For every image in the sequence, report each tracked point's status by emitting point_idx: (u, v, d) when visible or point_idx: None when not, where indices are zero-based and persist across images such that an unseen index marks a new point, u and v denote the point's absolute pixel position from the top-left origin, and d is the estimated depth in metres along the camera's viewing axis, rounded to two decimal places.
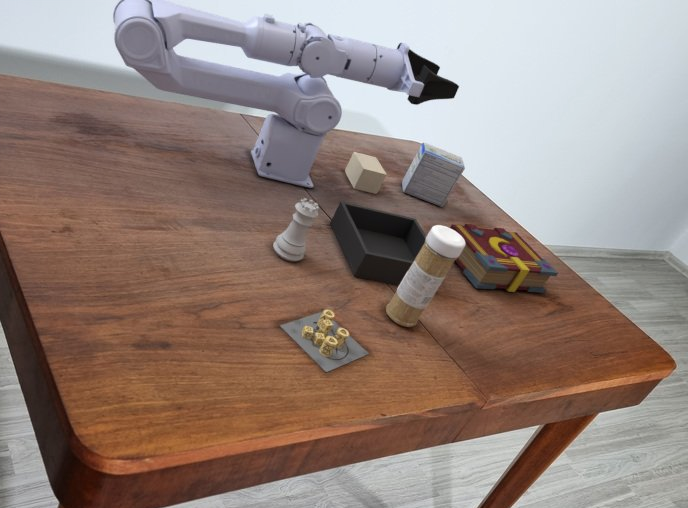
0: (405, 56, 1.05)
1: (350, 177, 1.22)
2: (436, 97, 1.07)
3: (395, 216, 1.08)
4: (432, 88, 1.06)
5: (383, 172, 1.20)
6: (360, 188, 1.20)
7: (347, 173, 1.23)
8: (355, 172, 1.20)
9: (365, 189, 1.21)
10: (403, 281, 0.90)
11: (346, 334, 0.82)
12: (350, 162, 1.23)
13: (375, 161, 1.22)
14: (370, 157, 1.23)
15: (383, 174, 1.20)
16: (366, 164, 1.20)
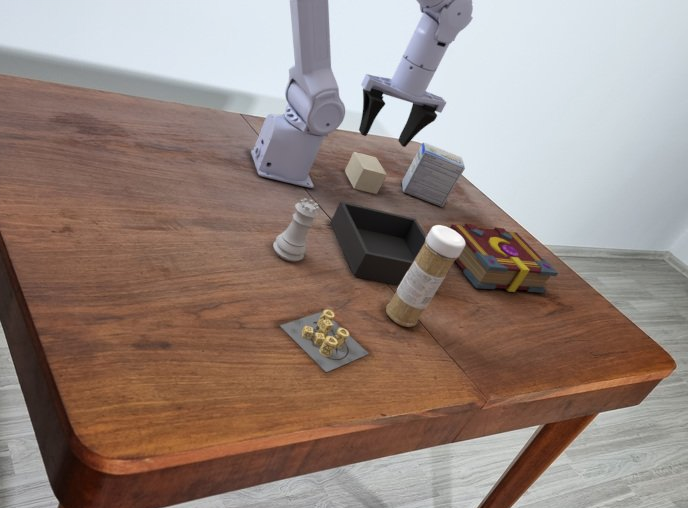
0: None
1: (350, 177, 1.22)
2: None
3: (395, 216, 1.08)
4: None
5: (383, 172, 1.20)
6: (360, 188, 1.20)
7: (347, 173, 1.23)
8: (355, 172, 1.20)
9: (365, 189, 1.21)
10: (403, 281, 0.90)
11: (346, 334, 0.82)
12: (350, 162, 1.23)
13: (375, 161, 1.22)
14: (370, 157, 1.23)
15: (383, 174, 1.20)
16: (366, 164, 1.20)
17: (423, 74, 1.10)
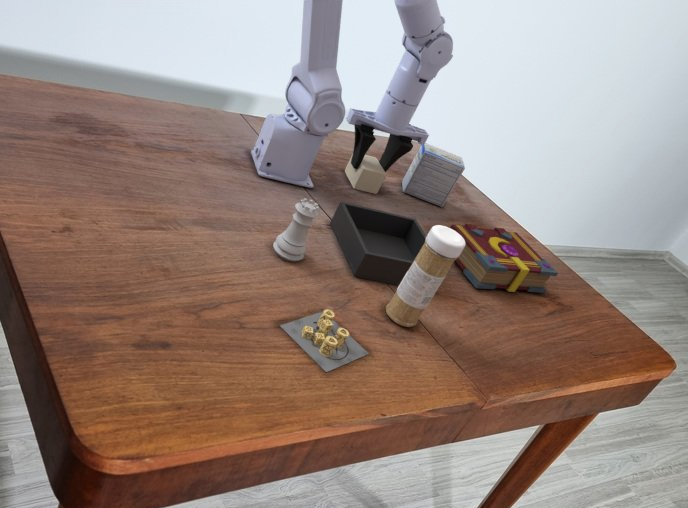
0: None
1: (350, 177, 1.22)
2: None
3: (395, 216, 1.08)
4: None
5: (383, 172, 1.20)
6: (360, 188, 1.20)
7: (347, 173, 1.23)
8: (355, 172, 1.20)
9: (365, 189, 1.21)
10: (403, 281, 0.90)
11: (346, 334, 0.82)
12: (350, 162, 1.23)
13: (375, 161, 1.22)
14: (370, 157, 1.23)
15: (383, 174, 1.20)
16: (366, 164, 1.20)
17: (405, 109, 1.13)
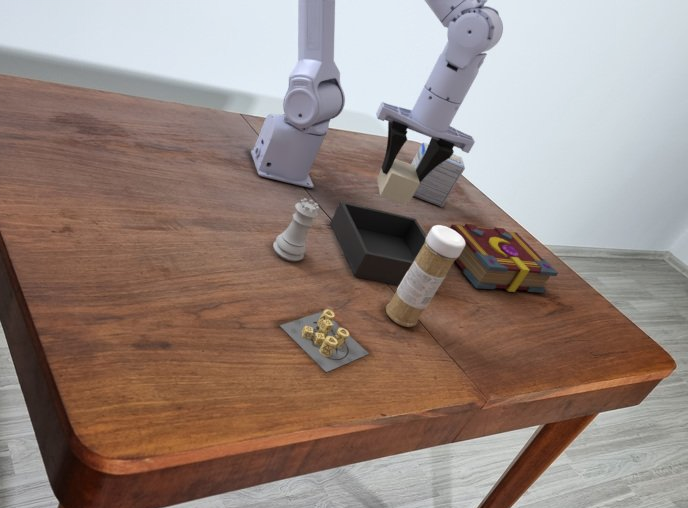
0: None
1: (379, 184, 1.07)
2: None
3: (395, 216, 1.08)
4: None
5: (416, 180, 1.03)
6: (388, 196, 1.04)
7: (378, 180, 1.08)
8: (385, 178, 1.05)
9: (394, 198, 1.05)
10: (403, 281, 0.90)
11: (346, 334, 0.82)
12: None
13: (411, 169, 1.06)
14: (406, 164, 1.07)
15: (415, 182, 1.03)
16: (398, 169, 1.04)
17: (443, 106, 0.97)
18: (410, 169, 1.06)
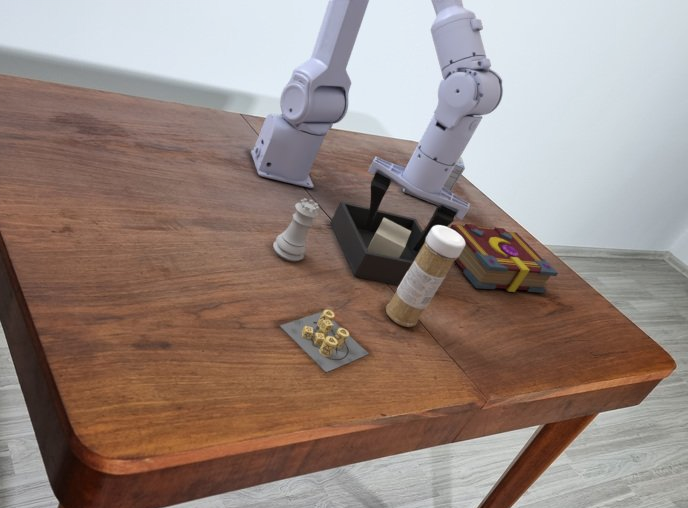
0: None
1: None
2: None
3: (395, 216, 1.08)
4: None
5: (402, 244, 1.00)
6: None
7: None
8: (373, 238, 1.02)
9: None
10: (403, 281, 0.90)
11: (346, 334, 0.82)
12: (377, 229, 1.05)
13: (404, 233, 1.03)
14: (401, 228, 1.04)
15: (400, 246, 0.99)
16: (386, 231, 1.01)
17: (431, 165, 0.93)
18: (402, 233, 1.02)
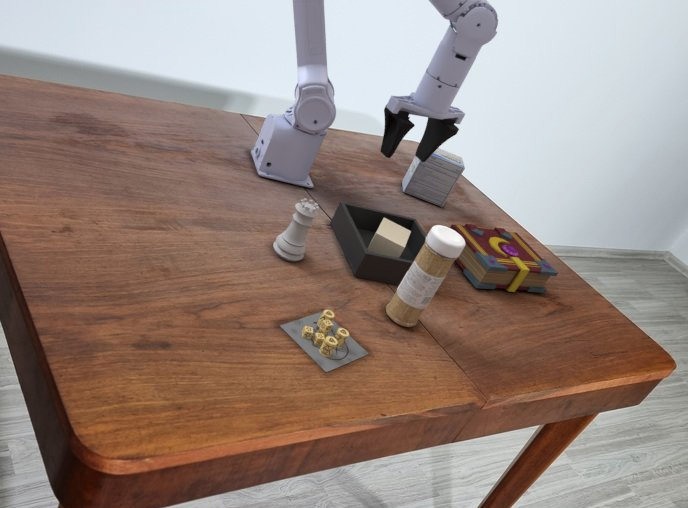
0: None
1: None
2: None
3: (395, 216, 1.08)
4: None
5: (402, 244, 1.00)
6: None
7: None
8: (373, 238, 1.02)
9: None
10: (403, 281, 0.90)
11: (346, 334, 0.82)
12: (377, 229, 1.05)
13: (404, 233, 1.03)
14: (401, 228, 1.04)
15: (400, 246, 0.99)
16: (386, 231, 1.01)
17: (452, 92, 1.05)
18: (402, 233, 1.02)
